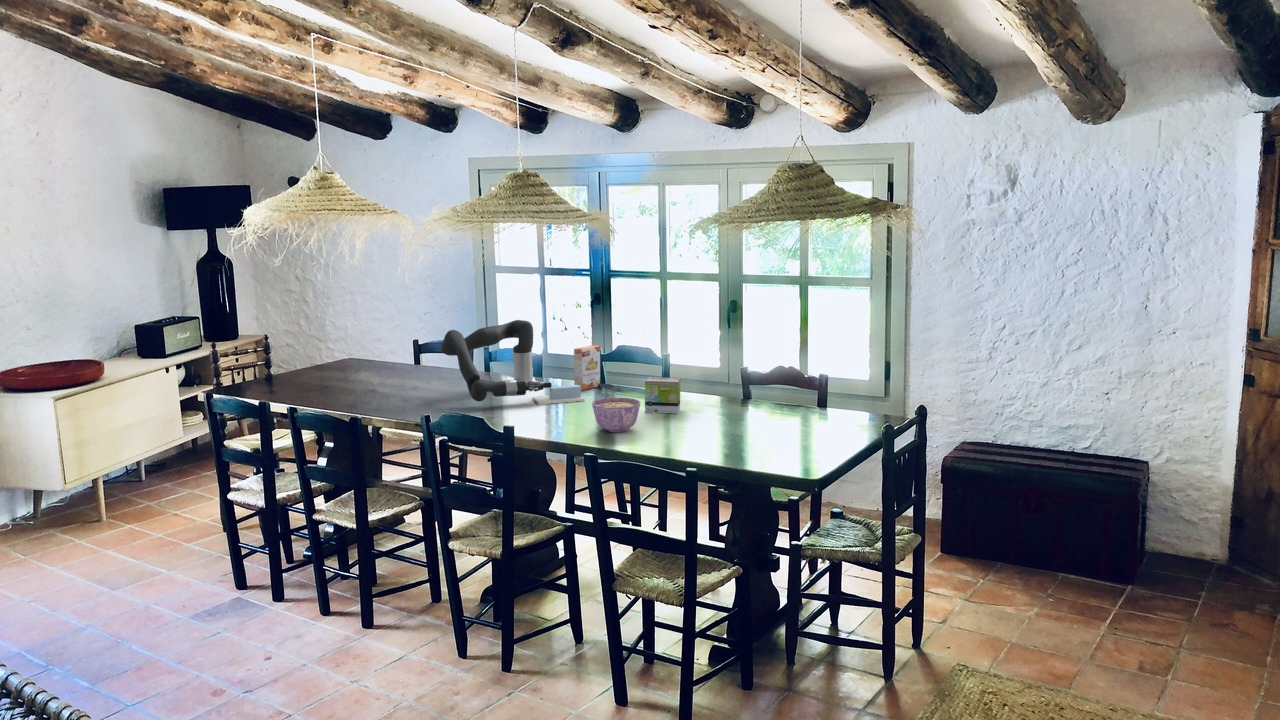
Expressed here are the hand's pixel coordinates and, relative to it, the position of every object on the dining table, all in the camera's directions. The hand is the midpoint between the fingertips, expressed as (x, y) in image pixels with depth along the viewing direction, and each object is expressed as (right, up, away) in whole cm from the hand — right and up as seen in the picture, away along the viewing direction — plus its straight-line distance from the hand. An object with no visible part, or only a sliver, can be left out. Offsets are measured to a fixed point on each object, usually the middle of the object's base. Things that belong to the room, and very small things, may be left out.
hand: (551, 384), depth 463 cm
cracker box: (+16, -3, +30) cm, 34 cm away
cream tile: (+3, -7, +3) cm, 9 cm away
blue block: (0, -4, +1) cm, 4 cm away
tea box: (+52, -12, -23) cm, 58 cm away
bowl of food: (+32, -17, -56) cm, 67 cm away
